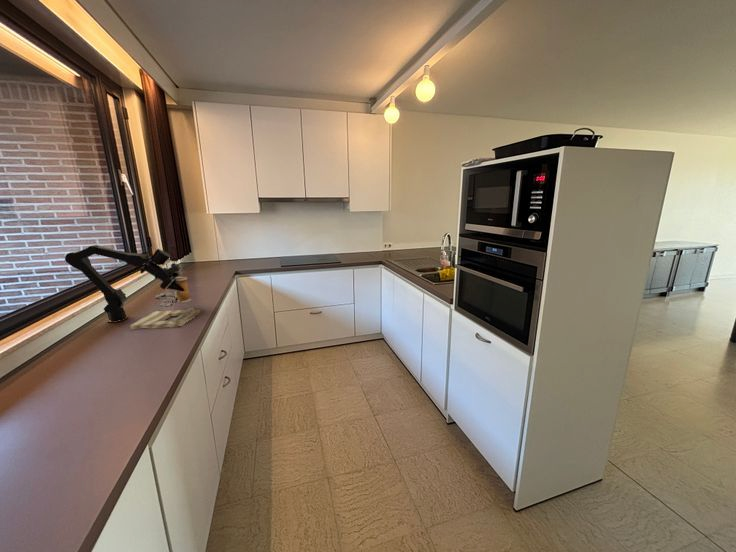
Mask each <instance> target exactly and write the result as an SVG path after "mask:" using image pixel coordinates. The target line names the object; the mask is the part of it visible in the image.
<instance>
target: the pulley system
mask: <svg viewBox="0 0 736 552" xmlns="http://www.w3.org/2000/svg"><path fill="white" fill-rule="evenodd" d="M173 293H174V295H173V294H172V292H167V293H163V292H162V293H159V294H156V295H154V296H155V297H154V298H156V299H163V298H167V297H172V298H169V299H168V300H169V302H170V303H169V302H167V301H168V300H166V301H164V302H162V303H160V304H159V307H160V306H162V305H171V302H172V301H175V302H176V300H175V299H176V298H178V296H177V291H176V290H173ZM164 295H166V296H164ZM162 296H163V297H162ZM174 297H175V298H174ZM165 302H167V303H165ZM172 303H173V302H172ZM171 306H172V305H171Z"/></svg>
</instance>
